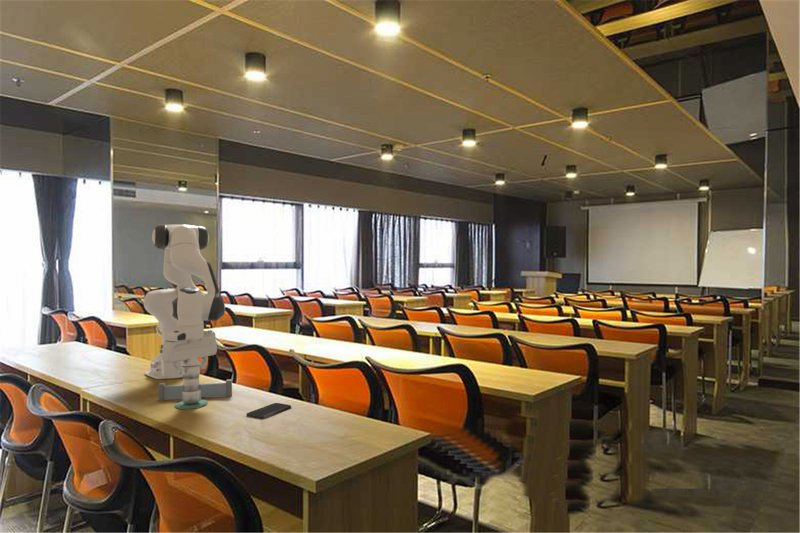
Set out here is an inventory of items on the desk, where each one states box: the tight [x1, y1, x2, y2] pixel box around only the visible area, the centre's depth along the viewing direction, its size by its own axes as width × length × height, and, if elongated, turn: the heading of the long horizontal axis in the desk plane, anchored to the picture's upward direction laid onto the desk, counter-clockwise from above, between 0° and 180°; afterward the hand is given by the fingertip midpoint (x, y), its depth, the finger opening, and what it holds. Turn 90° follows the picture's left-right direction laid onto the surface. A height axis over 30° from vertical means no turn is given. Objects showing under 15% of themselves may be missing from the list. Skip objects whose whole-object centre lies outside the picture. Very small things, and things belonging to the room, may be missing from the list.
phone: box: [246, 402, 292, 420], centre depth 176 cm, size 8×1×15 cm
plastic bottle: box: [181, 352, 202, 404], centre depth 184 cm, size 6×7×20 cm
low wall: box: [157, 378, 233, 401], centre depth 194 cm, size 26×2×6 cm, turn 103°
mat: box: [174, 399, 208, 410], centre depth 184 cm, size 11×11×1 cm
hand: (191, 371), depth 184 cm, fingers open, 8 cm apart
